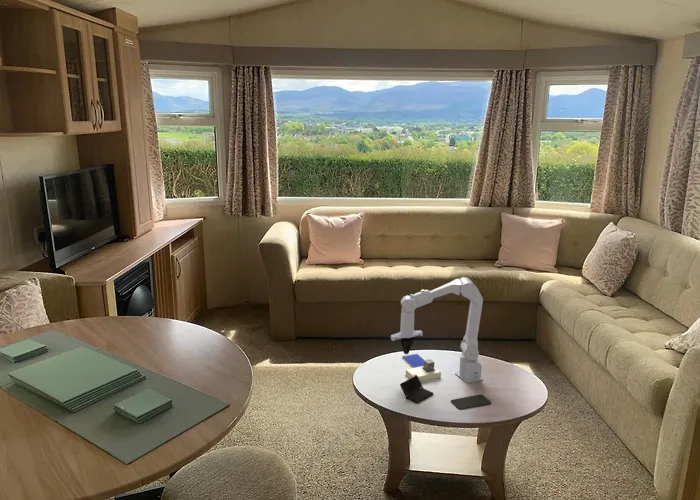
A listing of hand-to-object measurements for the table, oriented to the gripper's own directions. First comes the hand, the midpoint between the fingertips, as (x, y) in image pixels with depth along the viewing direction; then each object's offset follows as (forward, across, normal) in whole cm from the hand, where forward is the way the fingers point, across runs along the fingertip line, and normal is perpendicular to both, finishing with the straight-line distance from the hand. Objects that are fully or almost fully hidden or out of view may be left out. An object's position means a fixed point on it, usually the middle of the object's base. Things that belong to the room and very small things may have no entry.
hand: (406, 353), depth 235 cm
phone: (+11, -13, +30) cm, 34 cm away
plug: (+10, -10, +3) cm, 15 cm away
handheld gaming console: (+11, +4, +17) cm, 20 cm away
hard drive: (+11, -11, -9) cm, 18 cm away
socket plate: (+10, -7, +4) cm, 13 cm away
